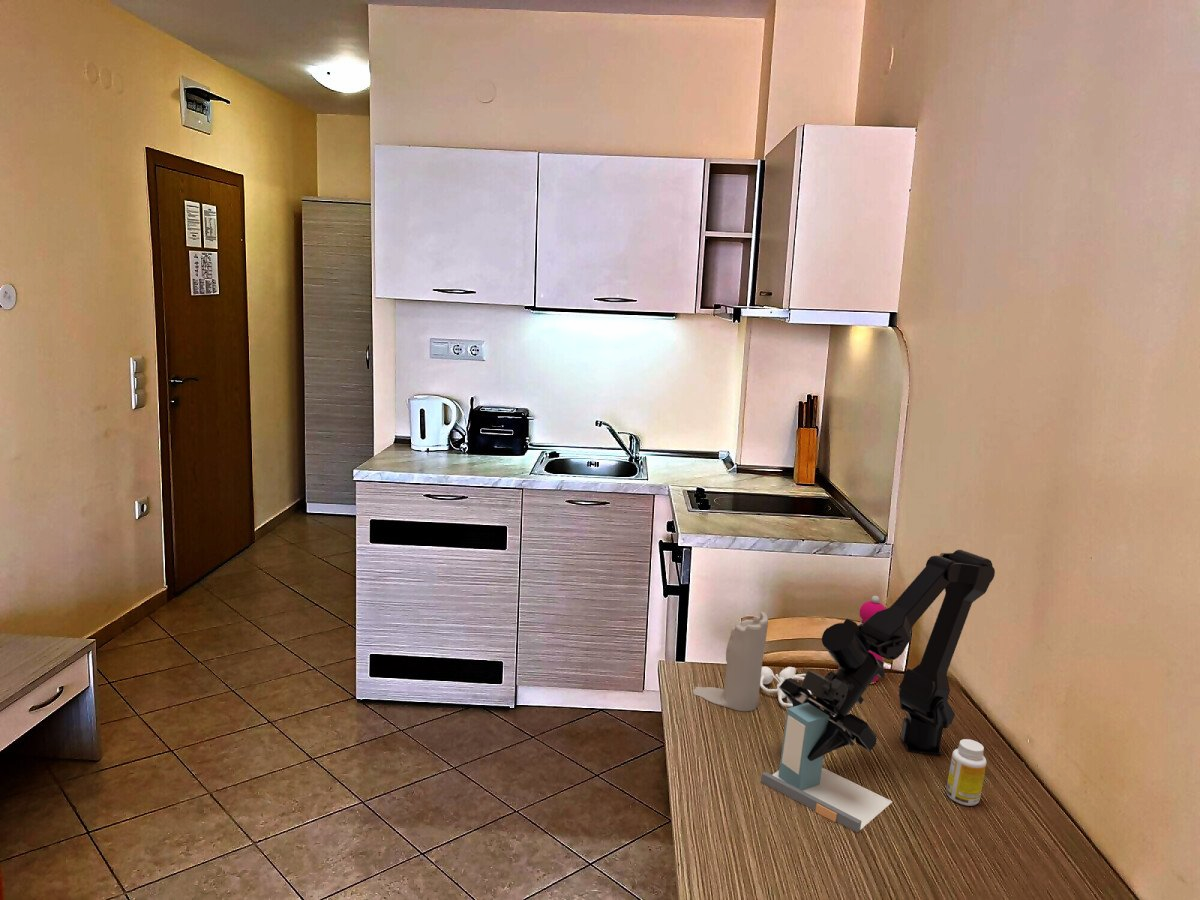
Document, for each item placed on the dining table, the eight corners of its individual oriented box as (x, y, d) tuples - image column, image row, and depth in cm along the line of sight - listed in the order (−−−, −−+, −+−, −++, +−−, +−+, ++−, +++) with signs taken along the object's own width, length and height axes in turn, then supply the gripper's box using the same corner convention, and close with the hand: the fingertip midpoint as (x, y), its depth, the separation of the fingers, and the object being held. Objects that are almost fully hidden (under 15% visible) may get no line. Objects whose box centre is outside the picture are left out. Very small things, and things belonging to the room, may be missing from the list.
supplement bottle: (986, 803, 151) (996, 750, 149) (963, 809, 149) (973, 755, 147) (960, 786, 156) (970, 734, 154) (938, 791, 154) (947, 739, 152)
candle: (698, 683, 188) (708, 596, 184) (761, 701, 182) (772, 611, 178) (687, 696, 181) (697, 606, 178) (751, 715, 176) (763, 622, 172)
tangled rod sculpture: (853, 725, 178) (858, 707, 178) (793, 726, 173) (798, 707, 172) (803, 680, 196) (807, 663, 195) (747, 679, 191) (751, 662, 190)
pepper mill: (881, 688, 193) (894, 603, 189) (848, 683, 195) (860, 598, 191) (877, 674, 200) (890, 592, 196) (845, 669, 202) (858, 588, 198)
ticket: (815, 815, 143) (817, 803, 142) (835, 825, 140) (837, 813, 140) (814, 815, 143) (816, 803, 142) (834, 826, 140) (836, 814, 140)
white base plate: (798, 762, 159) (800, 748, 159) (891, 807, 148) (894, 793, 147) (760, 788, 150) (762, 773, 149) (856, 839, 138) (858, 823, 138)
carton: (798, 769, 155) (808, 702, 152) (819, 784, 150) (829, 715, 148) (777, 776, 152) (786, 708, 149) (798, 791, 148) (807, 722, 145)
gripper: (793, 635, 157) (740, 703, 153) (875, 679, 141) (818, 755, 137) (818, 668, 162) (767, 734, 159) (899, 714, 147) (845, 788, 143)
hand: (797, 751), depth 149 cm, fingers closed on carton, 5 cm apart
